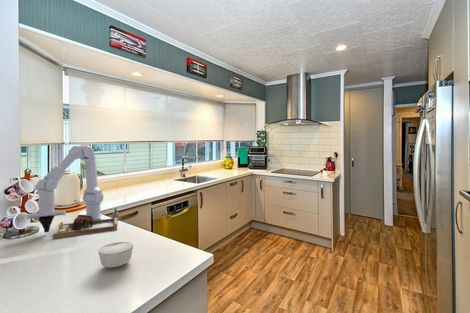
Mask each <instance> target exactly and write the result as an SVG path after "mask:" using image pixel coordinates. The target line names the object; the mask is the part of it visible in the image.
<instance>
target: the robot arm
mask: <svg viewBox="0 0 470 313" xmlns="http://www.w3.org/2000/svg"><path fill="white" fill-rule="evenodd" d="M78 159H80V160H82V161H83V162H84V166H85V167H84V168H85V180H86V184H85V185H86V189H85V190H84V191H83V196H82V201H83V203H84V204H85V210H86V212H85V215H88V216H91V217H93V221H95V220H102V215H103V214H101V204H102V202H103V200H104V198H105V196H104V194H103V190H102V189H101V188H100V187H99V185H98V172H97V171H98V170H97V158H96V155H95V149H94V148H93V147H91V145H73V146H72V147H71V148H70V149H69V150H68V153H67V154H66V156H65V158H63V160H62V161H61V162H60V164H58V165H57V166H53V167H51V168H50V171H49V172H48V173H47V174H46V175H45V176H43V178H41V179H39V180H38V181H37V182H36V185H35V189H36V190H37V194H38V212H35V213H34V212H33V213H28V214H26V220H30V219H37V218H38V221H39V223H40V224H41V226H42V228H43V231H44V233H49V232H50V229H51V225H52V222H53V221H54V218H55V217H58V216H66V214H67V213H66V210H55V190H56V189H57V188H58V183H59V181H60V180H61V179H63V177H64V176H65V175H66V169H68V167H70V166H71V165H72V164H73V162H75V161H76V160H78Z"/></svg>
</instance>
